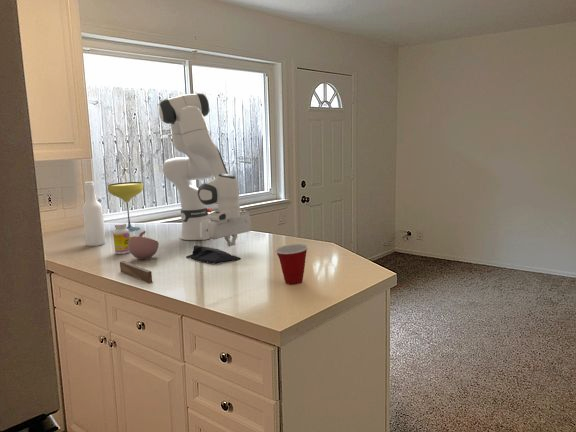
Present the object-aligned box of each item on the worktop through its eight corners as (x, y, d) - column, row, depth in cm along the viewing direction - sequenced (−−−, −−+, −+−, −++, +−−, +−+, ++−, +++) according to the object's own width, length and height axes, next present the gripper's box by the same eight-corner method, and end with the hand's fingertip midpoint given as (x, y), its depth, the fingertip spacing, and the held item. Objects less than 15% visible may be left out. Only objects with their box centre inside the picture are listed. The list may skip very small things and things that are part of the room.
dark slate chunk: (210, 268, 186) (209, 256, 186) (183, 258, 203) (182, 247, 203) (244, 260, 196) (243, 248, 195) (215, 251, 213) (215, 240, 212)
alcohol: (90, 247, 229) (82, 183, 224) (83, 244, 235) (76, 182, 230) (109, 244, 234) (102, 181, 229) (102, 241, 241) (95, 180, 236)
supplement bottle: (126, 254, 212) (123, 225, 210) (112, 254, 213) (109, 225, 211) (134, 250, 219) (131, 222, 216) (120, 250, 220) (117, 222, 218)
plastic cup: (275, 278, 168) (274, 244, 166) (307, 276, 169) (305, 242, 167) (277, 288, 158) (276, 252, 156) (311, 286, 159) (310, 250, 157)
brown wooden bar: (124, 271, 186) (123, 260, 186) (152, 282, 170) (151, 271, 170) (120, 272, 185) (119, 261, 185) (148, 283, 169) (147, 272, 169)
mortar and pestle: (165, 255, 207) (162, 228, 205) (148, 263, 196) (145, 235, 194) (141, 254, 211) (138, 228, 209) (123, 261, 200) (120, 234, 198)
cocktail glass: (106, 230, 269) (101, 184, 264) (137, 225, 281) (133, 181, 276) (121, 234, 256) (116, 186, 251) (153, 228, 268) (148, 182, 263)
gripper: (244, 208, 213) (246, 240, 215) (204, 216, 199) (207, 249, 201) (253, 210, 208) (255, 242, 211) (213, 217, 195) (216, 251, 197)
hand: (231, 245), depth 206 cm, fingers closed
